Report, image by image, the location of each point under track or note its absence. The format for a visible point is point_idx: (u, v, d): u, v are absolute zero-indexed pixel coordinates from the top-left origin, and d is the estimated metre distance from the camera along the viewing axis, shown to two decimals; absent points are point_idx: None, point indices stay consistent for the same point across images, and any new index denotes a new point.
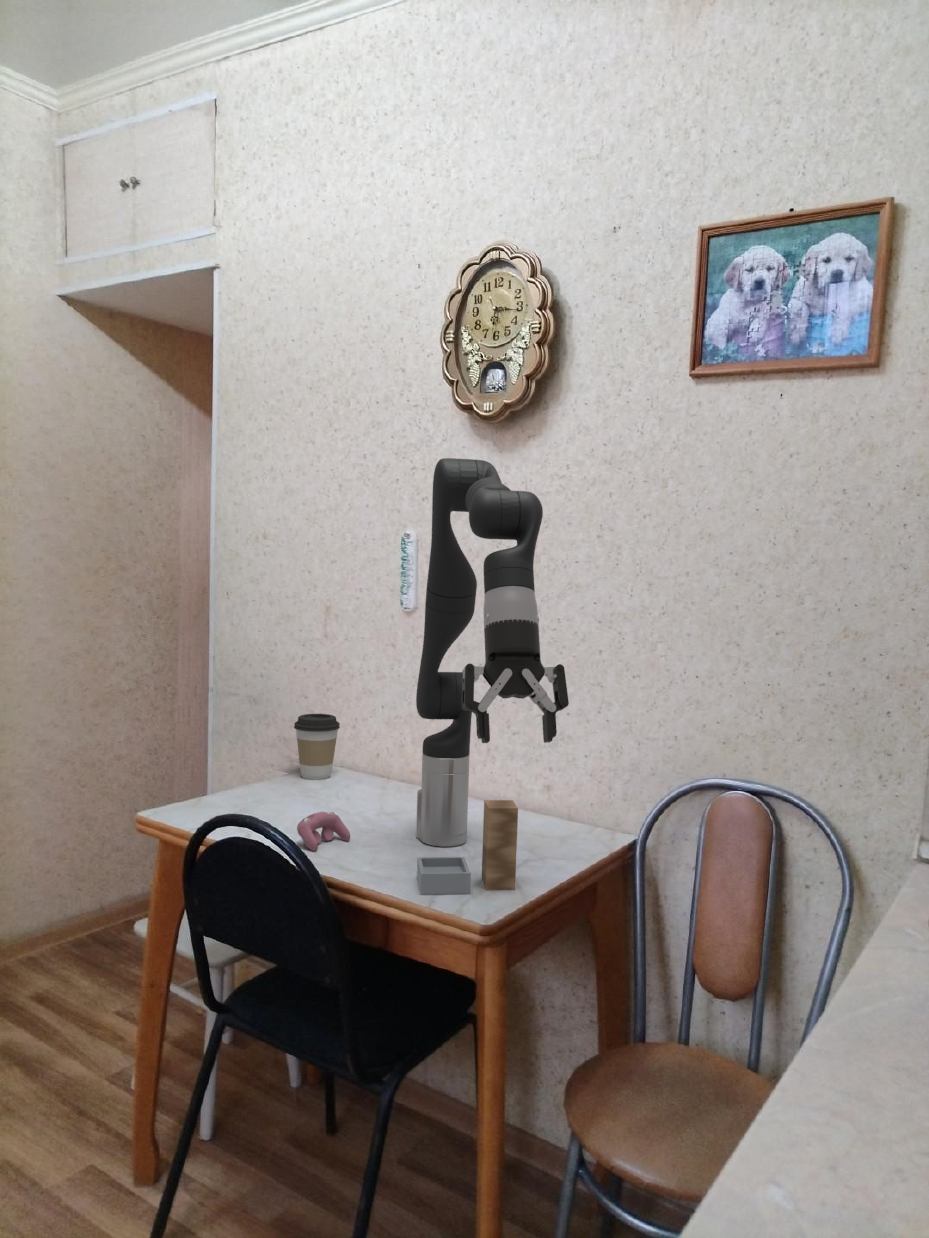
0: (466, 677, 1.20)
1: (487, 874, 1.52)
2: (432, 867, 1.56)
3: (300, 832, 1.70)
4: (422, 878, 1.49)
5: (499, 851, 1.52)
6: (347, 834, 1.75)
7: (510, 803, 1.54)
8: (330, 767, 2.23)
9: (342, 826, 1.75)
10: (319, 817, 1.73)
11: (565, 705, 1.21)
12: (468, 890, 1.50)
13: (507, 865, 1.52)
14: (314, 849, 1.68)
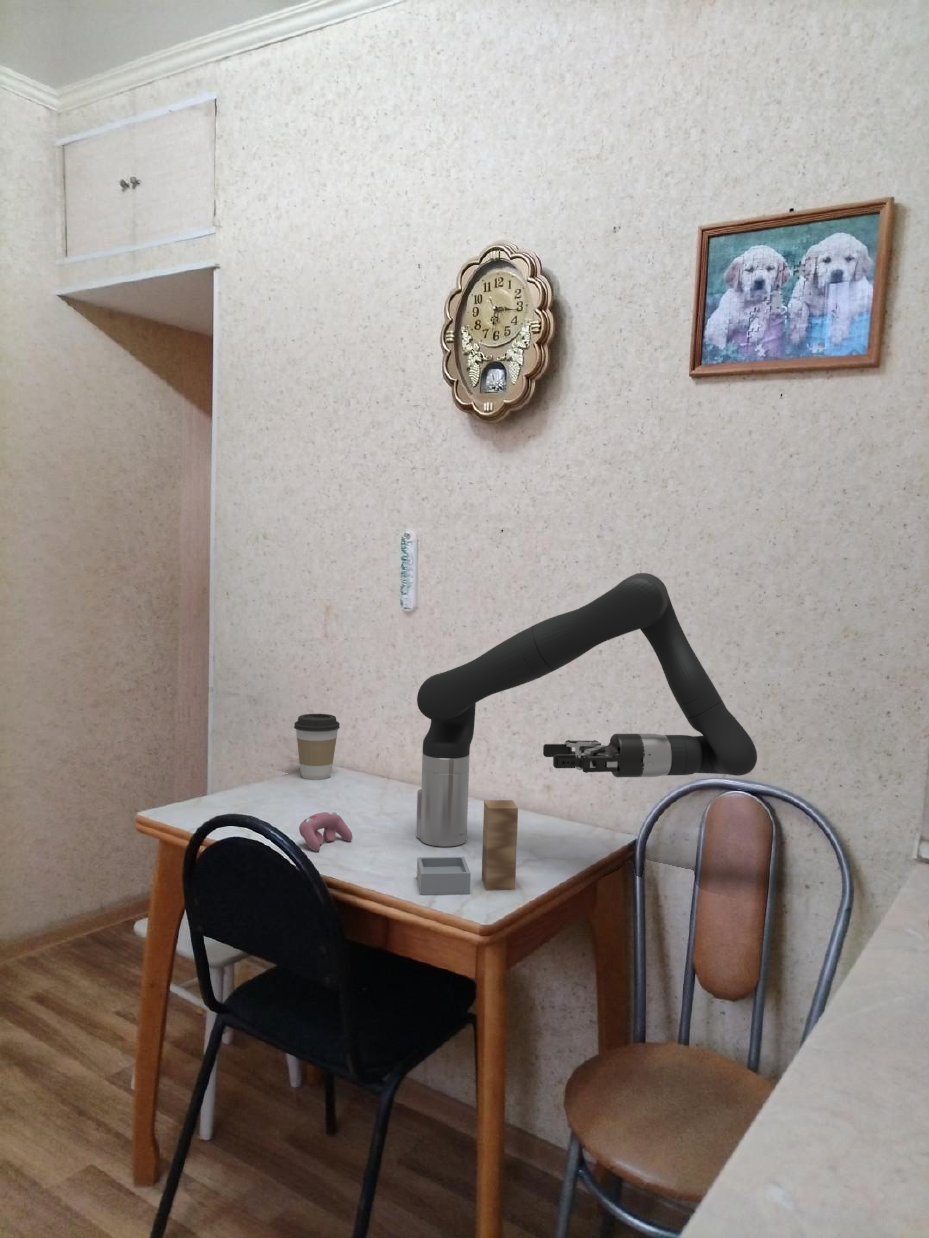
0: (606, 771, 1.50)
1: (487, 874, 1.52)
2: (432, 867, 1.56)
3: (302, 833, 1.70)
4: (422, 878, 1.49)
5: (498, 851, 1.52)
6: (349, 835, 1.74)
7: (510, 803, 1.54)
8: (330, 767, 2.23)
9: (344, 826, 1.75)
10: (321, 817, 1.72)
11: None
12: (468, 890, 1.50)
13: (507, 865, 1.52)
14: (316, 850, 1.68)
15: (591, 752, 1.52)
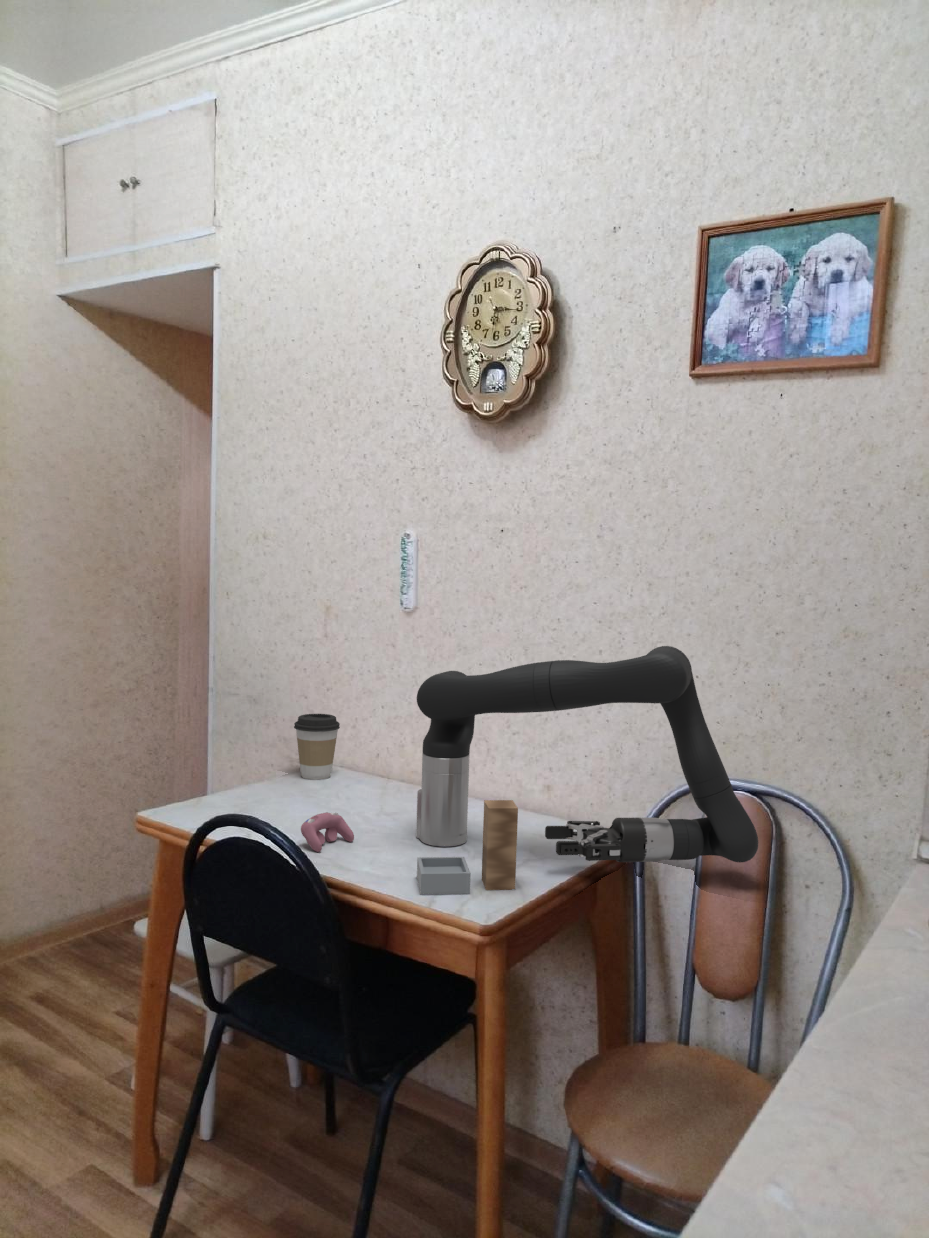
0: (609, 859, 1.50)
1: (487, 874, 1.52)
2: (432, 867, 1.56)
3: (304, 833, 1.70)
4: (422, 878, 1.49)
5: (499, 851, 1.52)
6: (351, 835, 1.74)
7: (510, 803, 1.54)
8: (330, 767, 2.23)
9: (346, 827, 1.75)
10: (323, 817, 1.72)
11: None
12: (468, 890, 1.50)
13: (507, 865, 1.52)
14: (318, 850, 1.68)
15: (594, 839, 1.52)
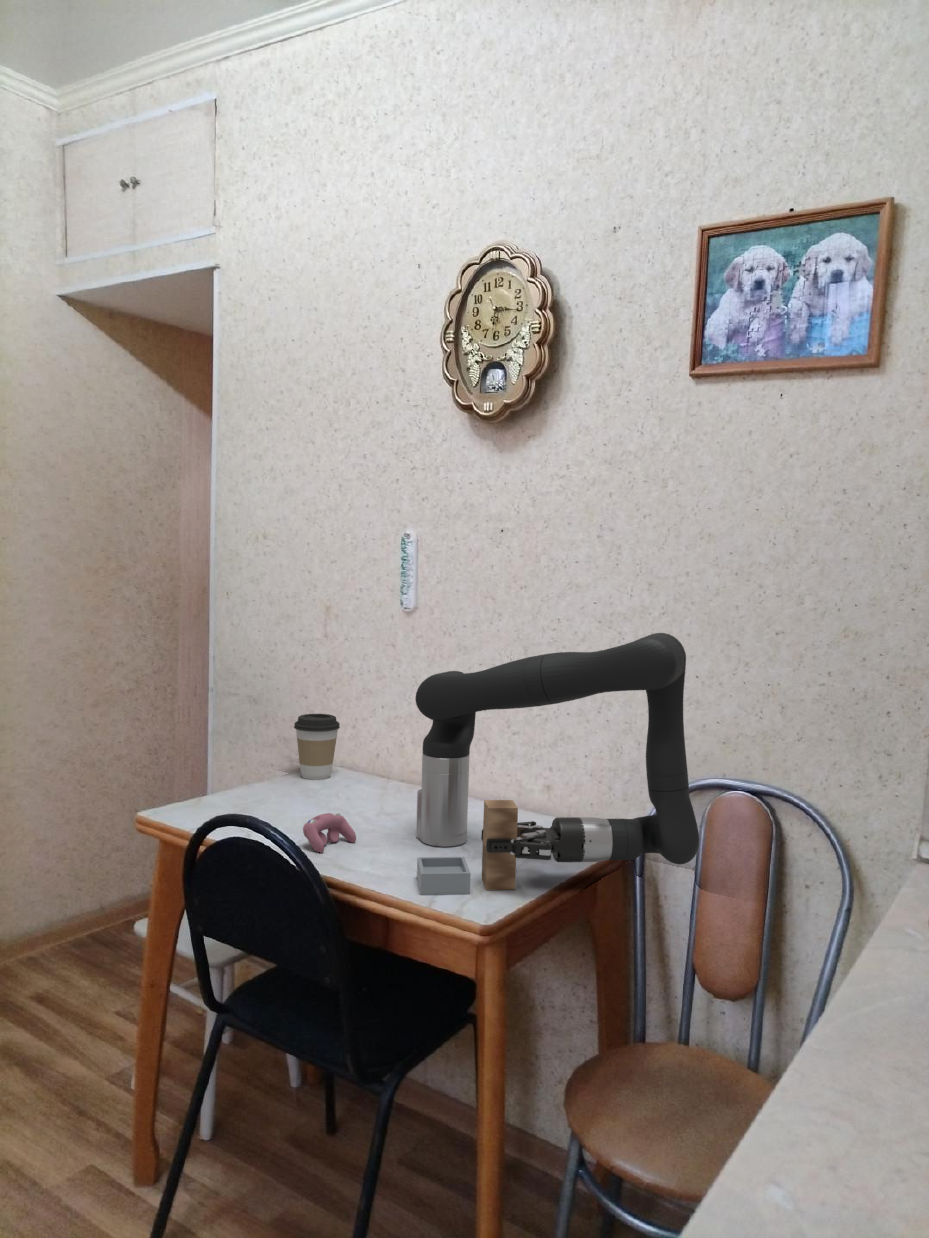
0: None
1: (487, 874, 1.52)
2: (432, 867, 1.56)
3: (306, 834, 1.69)
4: (422, 878, 1.49)
5: None
6: (353, 835, 1.74)
7: (510, 803, 1.54)
8: (330, 767, 2.23)
9: (348, 827, 1.74)
10: (325, 818, 1.72)
11: None
12: (468, 890, 1.50)
13: (507, 865, 1.52)
14: (320, 851, 1.67)
15: (526, 837, 1.51)
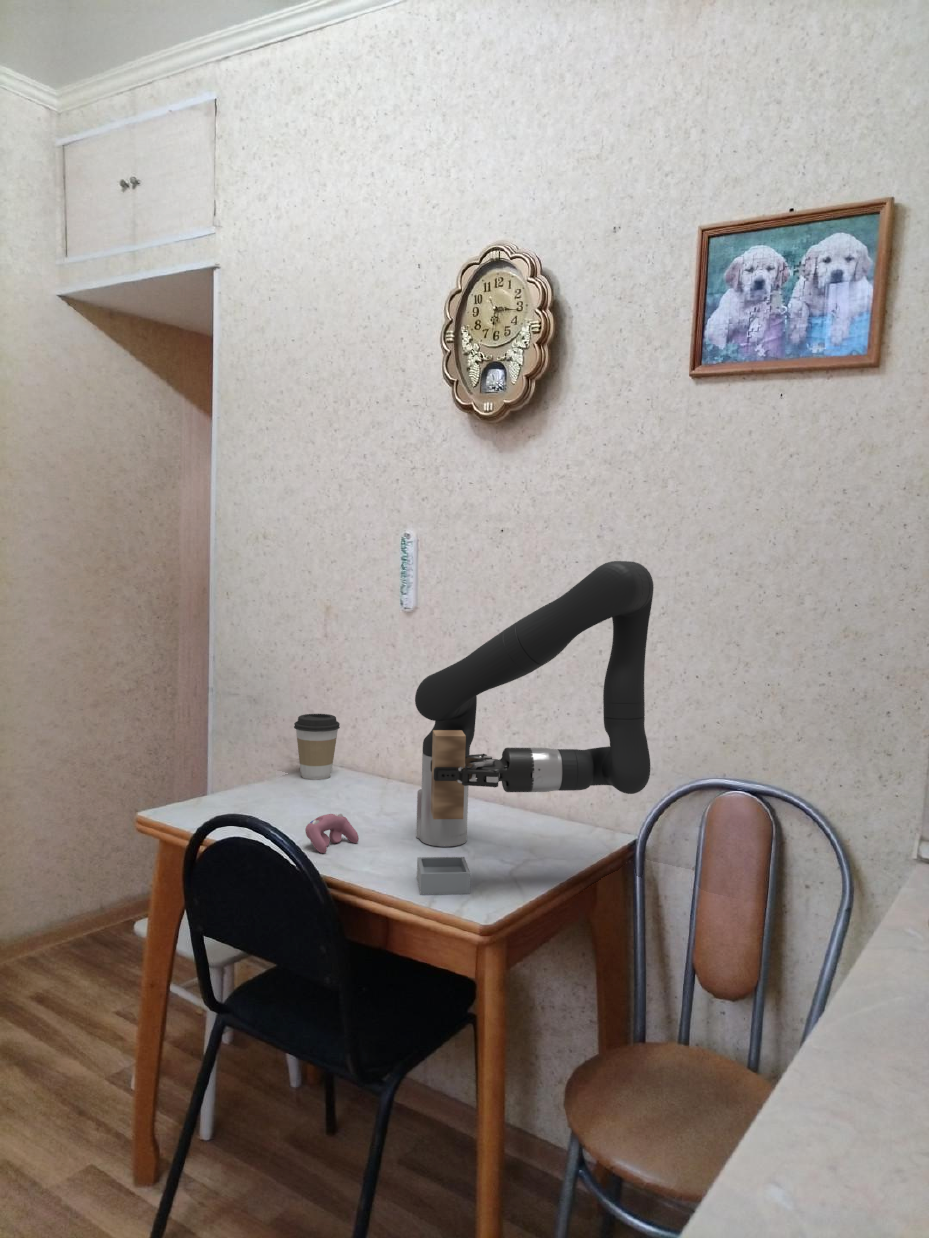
0: (486, 786, 1.47)
1: (435, 803, 1.50)
2: (432, 867, 1.56)
3: (309, 834, 1.69)
4: (422, 878, 1.49)
5: None
6: (355, 836, 1.74)
7: (459, 732, 1.52)
8: (330, 767, 2.23)
9: (350, 828, 1.74)
10: (327, 819, 1.71)
11: None
12: (468, 890, 1.50)
13: (455, 794, 1.50)
14: (323, 851, 1.67)
15: (474, 766, 1.49)
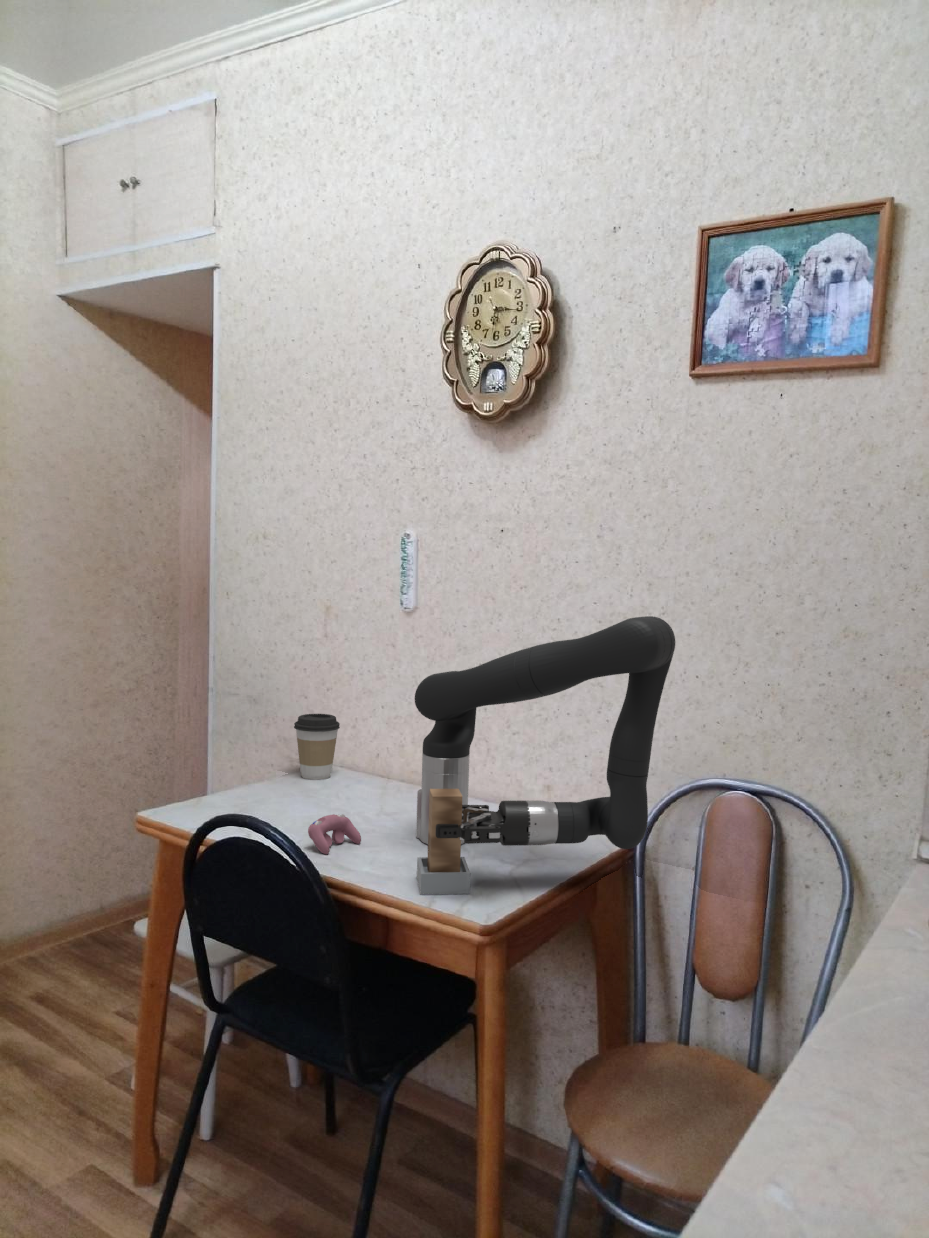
0: (488, 842, 1.47)
1: (431, 863, 1.50)
2: None
3: (311, 835, 1.69)
4: (422, 878, 1.49)
5: (443, 840, 1.50)
6: (358, 837, 1.73)
7: (455, 791, 1.53)
8: (330, 767, 2.23)
9: (353, 829, 1.74)
10: (330, 819, 1.71)
11: None
12: (468, 890, 1.50)
13: (451, 854, 1.51)
14: (326, 852, 1.67)
15: (475, 821, 1.49)
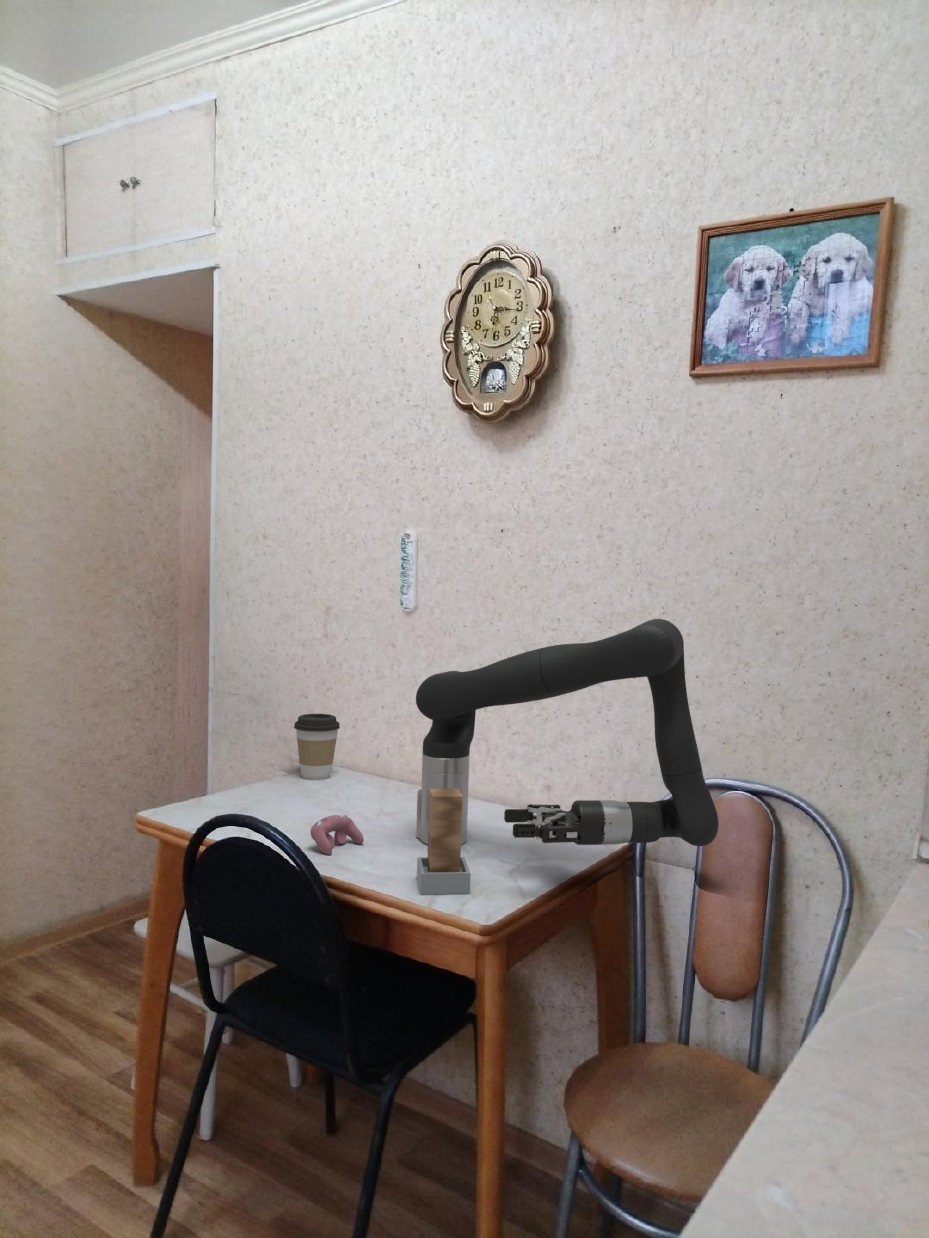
0: (566, 841, 1.48)
1: (431, 863, 1.50)
2: None
3: (314, 836, 1.68)
4: (422, 878, 1.49)
5: (443, 840, 1.50)
6: (360, 837, 1.73)
7: (455, 791, 1.53)
8: (330, 767, 2.23)
9: (355, 829, 1.74)
10: (332, 820, 1.71)
11: None
12: (468, 890, 1.50)
13: (451, 854, 1.51)
14: (328, 853, 1.66)
15: (551, 821, 1.51)
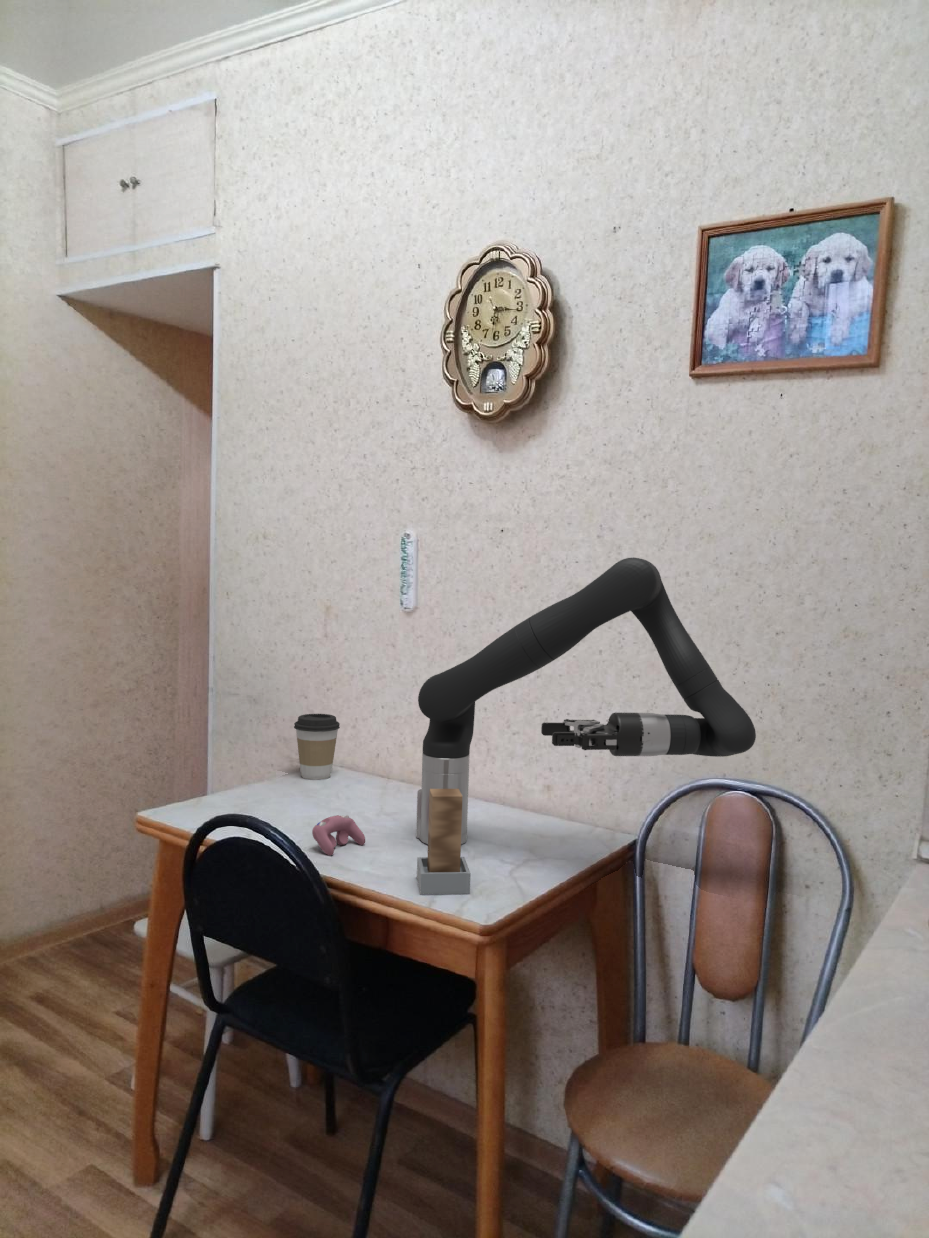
0: None
1: (431, 863, 1.50)
2: None
3: (315, 836, 1.68)
4: (422, 878, 1.49)
5: (443, 840, 1.50)
6: (362, 838, 1.73)
7: (455, 791, 1.53)
8: (330, 767, 2.23)
9: (357, 830, 1.73)
10: (334, 820, 1.70)
11: None
12: (468, 890, 1.50)
13: (451, 854, 1.51)
14: (330, 853, 1.66)
15: (590, 730, 1.51)
